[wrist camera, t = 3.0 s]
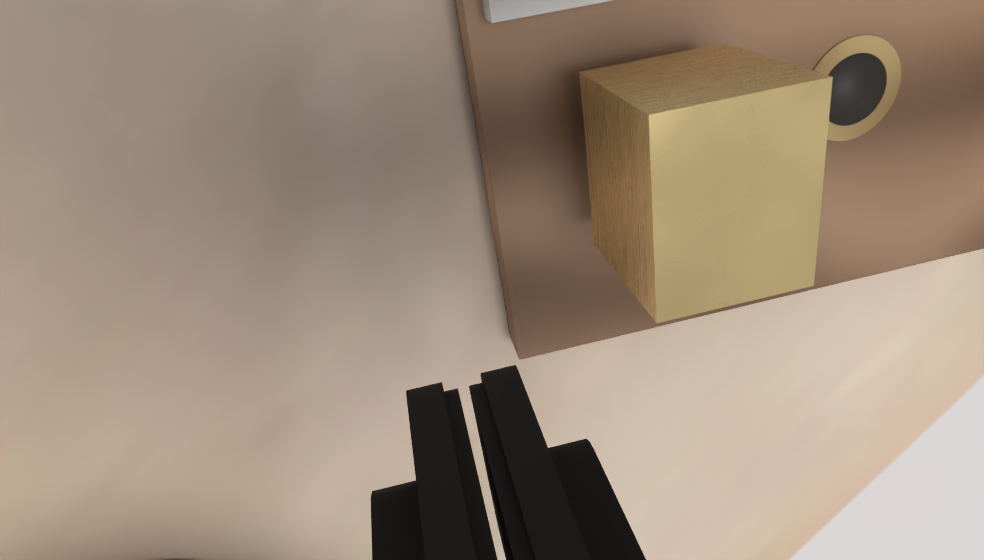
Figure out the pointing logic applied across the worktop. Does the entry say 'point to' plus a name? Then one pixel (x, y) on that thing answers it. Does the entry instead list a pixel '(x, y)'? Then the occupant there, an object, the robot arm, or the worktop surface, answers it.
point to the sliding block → (706, 175)
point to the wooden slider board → (760, 29)
